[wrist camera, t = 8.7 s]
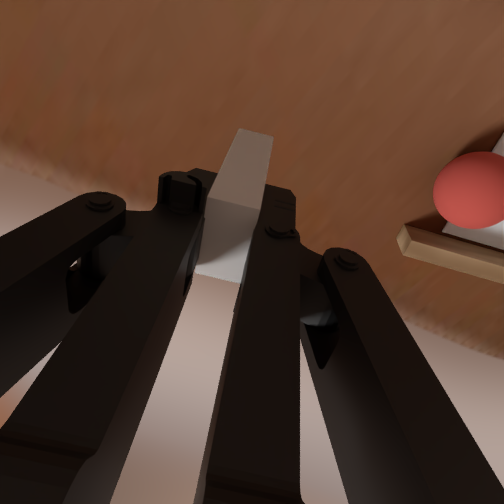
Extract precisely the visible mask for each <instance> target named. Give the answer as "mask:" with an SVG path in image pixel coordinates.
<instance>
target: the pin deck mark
mask: <svg viewBox="0 0 504 504" xmlns="http://www.w3.org/2000/svg"><path fill="white" fill-rule="evenodd" d="M492 153H496V154H499V155H501V156H503V157H504V133H503V134H502V136H501V137H500V139H499V141H498V142H497V144H496V145H495V147H494V149H493V150H492ZM442 232H444V233H448V234H451V235H454V236H458V237H461V238H465V239H468V240H472V241H475V242H479V243H482V244H485V245H489V246H492V247H496V248H499V249H503V250H504V220H503V221H501V222H499V223H498V224H495V225H493V226H490V227H486V228H481V229H468V228H462V227H459V226H456V225H454V224H452V223H450V222H449V221H448V222H447V223H446V225H445V226H444V228H443V230H442Z"/></svg>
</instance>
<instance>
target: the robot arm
mask: <svg viewBox="0 0 504 504" xmlns="http://www.w3.org/2000/svg"><path fill="white" fill-rule="evenodd" d="M273 138H274V137H273V136H269V135H265V134H261V133H257V132H253V131H249V130H245V129H241V128H239V129H238V132H237V134H236V136H235V138H234V140H233V142H232V145H231V147H230V149H229V151H228V153H227V155H226V157H225V160H224V162H223V164H222V166H221V168H220V170H219V172H218V173H215V172H210V171H206V170H202V169H198V168H195V169H192V170H190V171H188V172H181V171H171V172H166V173H163V174H162V175H160V176H159V183H158V197H157V204H156V205H155V207H154V208H153V210H151V211H130V210H126V202H125V201H124V200H123V199H122V198H121V197H119V196H117V195H114V194H111V193H108V192H98V191H97V192H91V193H85V194H83V195H80V196H78V197H76V198H74V199H72V200H70V201H68V202H66V203H64V204H62V205H60V206H58V207H56V208H55V209H53V210H51V211H49V212H47V213H45V214H43V215H41V216H39V217H37V218H35V219H33V220H31V221H30V222H28V223H26V224H24V225H22V226H20V227H18V228H16V229H14V230H13V231H10V232H8V233H7V234H5V235H3V236H1V237H0V397H2V396H3V395H4V394H5V393H6V392H7V391H8V390H9V389H10V388H11V387H12V386H13V385H14V384H16V383H17V382H18V381H19V380H20V379H21V378H22V377H23V376H24V375H25V374H27V373H28V372H29V370H31V369H32V368H33V367H34V366H35V365H36V364H37V363H38V362H39V361H40V360H42V358H44V357H45V356H46V355H47V354H48V353H49V352H50V351H52V349H54V348H55V347H56V346H57V345H58V344H59V343H60V342H61V341H62V342H61V343H60V344H59V346H58V348H57V349H56V350H55V352H54V353H53V355H52V356H51V358H50V359H49V361H48V362H47V363H46V365H45V366H44V368H43V369H42V371H41V372H40V374H39V375H38V376H37V378H36V379H35V381H34V382H33V384H32V385H31V386H30V388H29V389H28V391H27V392H26V394H25V395H24V397H23V398H22V400H21V401H20V403H19V404H18V405H17V407H16V408H15V410H14V411H13V413H12V414H11V416H10V417H9V418H8V420H7V421H6V422H5V424H4V425H3V426H2V427H1V429H0V504H110V501H111V498H112V495H113V493H114V490H115V487H116V485H117V482H118V480H119V477H120V474H121V471H122V468H123V466H124V463H125V461H126V458H127V455H128V453H129V450H130V447H131V445H132V442H133V439H134V437H135V434H136V431H137V428H138V426H139V423H140V420H141V418H142V415H143V413H144V410H145V407H146V404H147V402H148V399H149V396H150V394H151V391H152V388H153V386H154V383H155V380H156V378H157V375H158V372H159V370H160V367H161V364H162V361H163V359H164V356H165V354H166V351H167V348H168V345H169V342H170V340H171V337H172V335H173V332H174V329H175V327H176V324H177V321H178V319H179V316H180V313H181V311H182V308H183V305H184V302H185V300H186V297H187V294H188V292H189V289H190V286H191V284H192V278H193V272H194V269H195V266H196V269H195V273H198V274H202V275H206V276H210V277H214V278H219V279H223V280H227V281H231V282H236V283H240V287H239V292H238V295H237V299H236V303H235V307H234V311H233V312H234V314H233V319H232V324H231V329H230V333H229V338H228V343H227V348H226V352H225V357H224V361H223V366H222V371H221V376H220V380H219V385H218V390H217V395H216V399H215V404H214V409H213V413H212V418H211V423H210V427H209V432H208V437H207V442H206V446H205V451H204V456H203V460H202V465H201V470H200V475H199V479H198V484H197V489H196V494H195V498H194V503H193V504H305V503H304V502H303V501H302V498H301V494H300V339H301V343H302V346H303V349H304V353H305V356H306V359H307V363H308V366H309V370H310V373H311V377H312V380H313V383H314V387H315V390H316V394H317V397H318V401H319V404H320V407H321V411H322V414H323V417H324V421H325V424H326V428H327V431H328V435H329V438H330V441H331V445H332V448H333V452H334V455H335V459H336V462H337V465H338V469H339V472H340V476H341V479H342V482H343V486H344V489H345V492H346V496H347V499H348V503H349V504H504V488H503V487H502V485H501V483H500V482H499V480H498V478H497V476H496V475H495V473H494V471H493V470H492V468H491V467H490V465H489V463H488V461H487V460H486V458H485V457H484V455H483V453H482V451H481V450H480V448H479V447H478V445H477V443H476V442H475V440H474V438H473V437H472V435H471V433H470V432H469V430H468V428H467V427H466V425H465V423H464V422H463V420H462V418H461V417H460V415H459V413H458V412H457V410H456V408H455V407H454V405H453V404H452V402H451V400H450V398H449V397H448V395H447V394H446V392H445V390H444V388H443V387H442V385H441V383H440V382H439V380H438V379H437V377H436V375H435V373H434V372H433V370H432V368H431V367H430V365H429V364H428V362H427V360H426V358H425V357H424V355H423V353H422V352H421V350H420V348H419V347H418V345H417V343H416V342H415V340H414V338H413V337H412V335H411V333H410V332H409V330H408V328H407V327H406V325H405V323H404V322H403V320H402V318H401V317H400V315H399V313H398V312H397V310H396V308H395V307H394V305H393V303H392V302H391V300H390V298H389V297H388V295H387V293H386V292H385V290H384V288H383V287H382V285H381V283H380V282H379V280H378V278H377V277H376V275H375V273H374V272H373V270H372V269H371V267H370V265H369V264H368V263H367V261H366V260H365V259H364V258H363V257H361V256H360V255H358V254H357V253H356V252H354V251H351V250H349V249H344V248H330V249H327V250H326V251H325V253H324V254H323V256H322V255H320V254H318V253H315V252H313V251H311V250H309V249H307V248H306V247H305V246H303V245H302V244H301V243H300V235H299V232H298V231H297V230H296V229H295V218H296V212H295V211H296V197H295V196H294V194H293V193H292V192H291V190H288V189H284V188H280V187H276V186H272V185H268V184H265V182H266V177H267V171H268V166H269V160H270V155H271V149H272V144H273ZM76 260H77V263H76V264H75V265H73V266H72V267H70V266H71V265H72V264H73V263H74V262H75V261H76Z"/></svg>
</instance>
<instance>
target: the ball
mask: <svg viewBox="0 0 504 504" xmlns="http://www.w3.org/2000/svg"><path fill="white" fill-rule="evenodd" d="M433 199H434V203H435V206H436V208H437V210H438V211H439V213H440V214H441V215H442V216H443V217H444V218H445V219H446V220H447V221H449V222H450V223H452V224H454V225H456V226H459V227H462V228H468V229H481V228H486V227H490V226H493V225H495V224H498V223H499V222H501V221H503V220H504V157H503V156H501V155H499V154H496V153H492V152H485V151H479V152H471V153H467V154H464V155H461V156H459V157H457V158H455V159H454V160H452V161H451V162H449V163H448V164H447V165H446V166H445V167H444V168H443V169H442V170H441V172H440V173H439V175H438V176H437V178H436V181H435V184H434V188H433Z"/></svg>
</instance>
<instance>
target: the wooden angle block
mask: <svg viewBox="0 0 504 504" xmlns="http://www.w3.org/2000/svg"><path fill="white" fill-rule="evenodd" d="M396 239H397V242H398V244H399V246H400V249H401V251H402V254H403V255H404V256H408V257H411V258H415V259H418V260H422V261H425V262H429V263H432V264H436V265H439V266H442V267H446V268H449V269H453V270H456V271H460V272H463V273H467V274H470V275H474V276H477V277H481V278H484V279H488V280H491V281H495V282H498V283H502V284H504V253H501V252H498V251H495V250H491V249H488V248H484V247H481V246H477V245H474V244H470V243H467V242H464V241H460V240H457V239H453V238H450V237H446V236H443V235H439V234H436V233H433V232H429V231H426V230H422V229H419V228H415V227H412V226H408V225H405V224H404V225H403V227H402V229H401V231H400V232H399V234H398V236H397V238H396Z"/></svg>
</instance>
